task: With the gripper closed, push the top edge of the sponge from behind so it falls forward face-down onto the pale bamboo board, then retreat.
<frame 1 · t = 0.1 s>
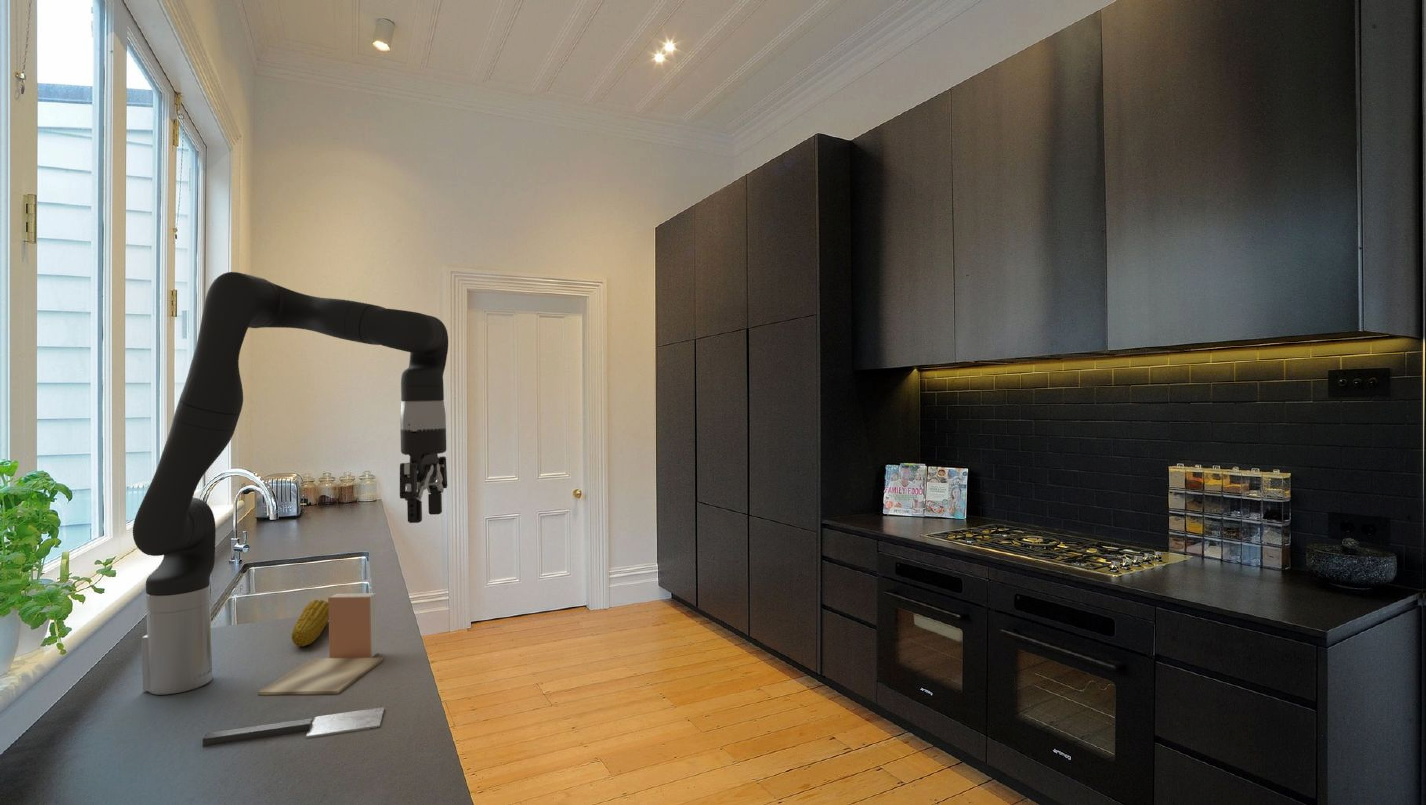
hand: (425, 518, 129), 29 cm above the countertop, fingers open, 8 cm apart
food: (312, 636, 157), on the countertop
sponge: (353, 655, 144), on the countertop
board: (324, 676, 133), on the countertop
knife with black handle: (296, 730, 112), on the countertop
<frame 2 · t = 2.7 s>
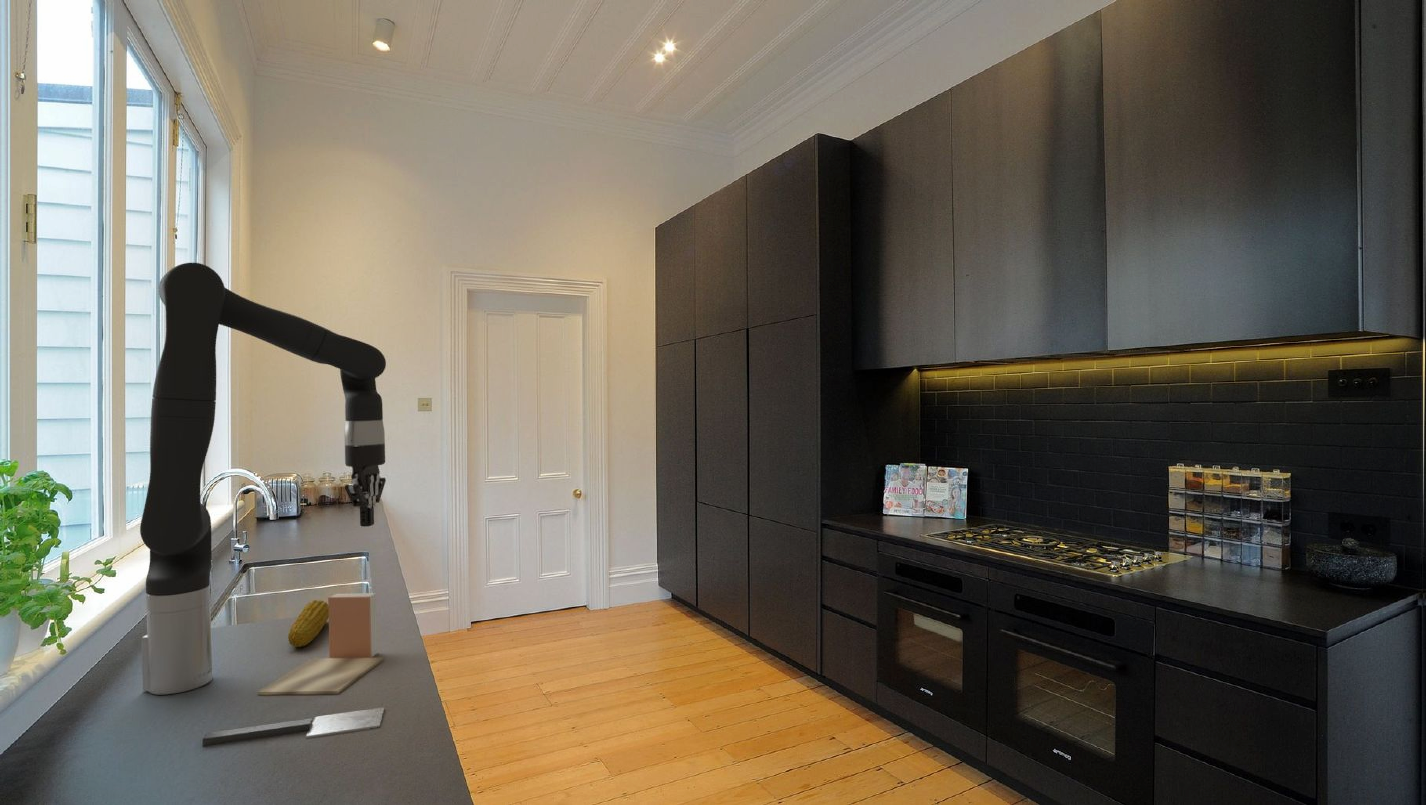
hand: (367, 525, 151), 24 cm above the countertop, fingers closed
nothing on the countertop moved.
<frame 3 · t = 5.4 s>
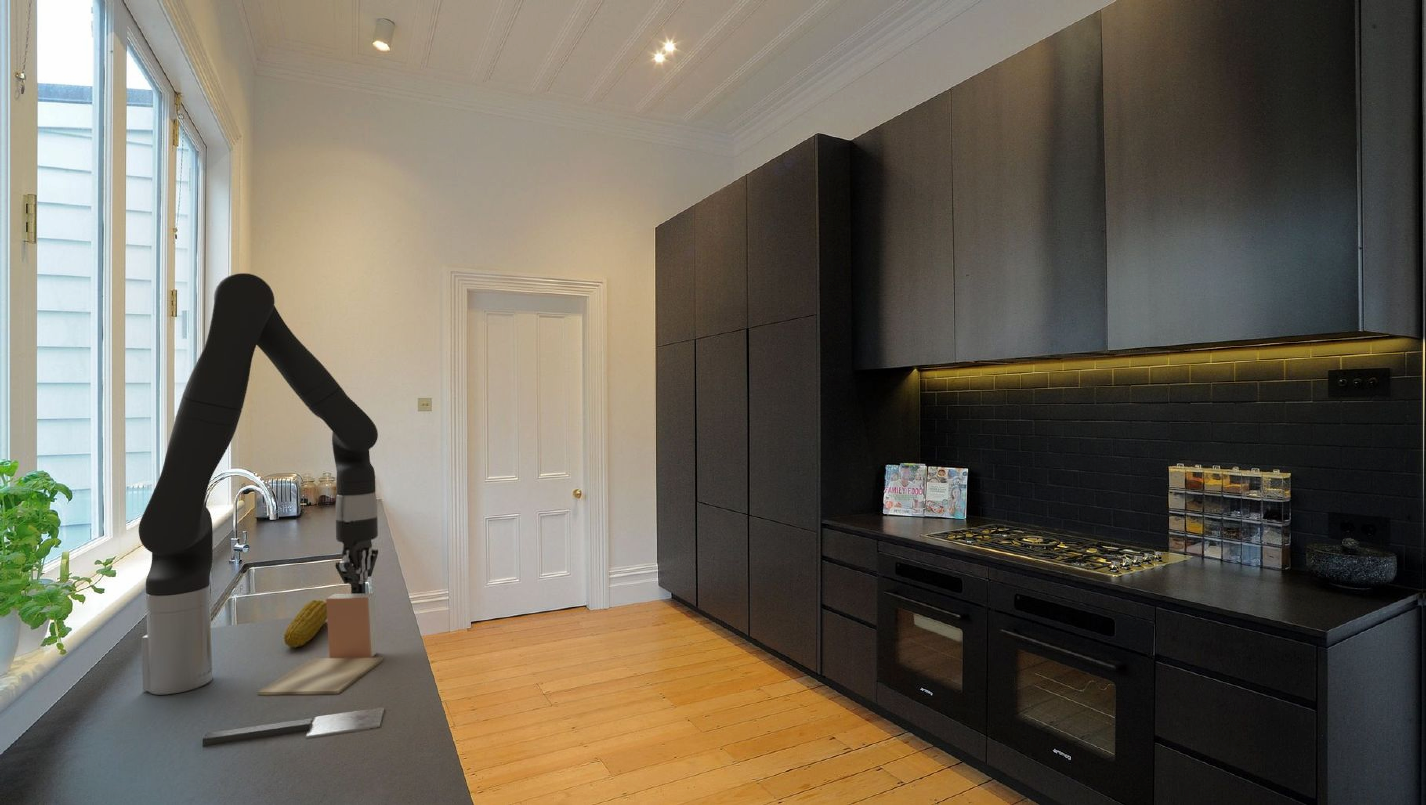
hand: (358, 601, 147), 10 cm above the countertop, fingers closed
nothing on the countertop moved.
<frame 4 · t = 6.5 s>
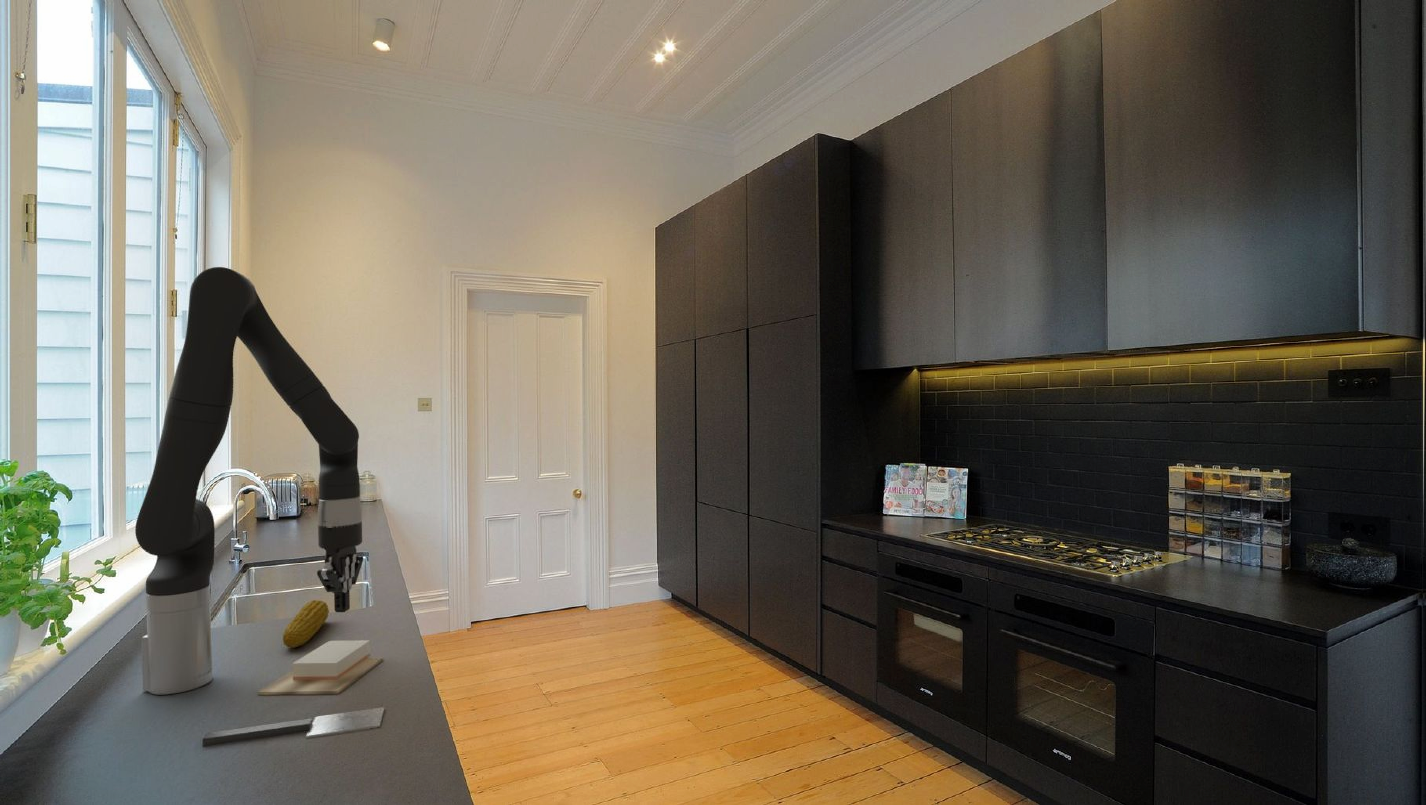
hand: (342, 610, 140), 10 cm above the countertop, fingers closed
sponge: (349, 648, 143), point 2 cm above the countertop, tilted 90°, touching board
everything else where it was.
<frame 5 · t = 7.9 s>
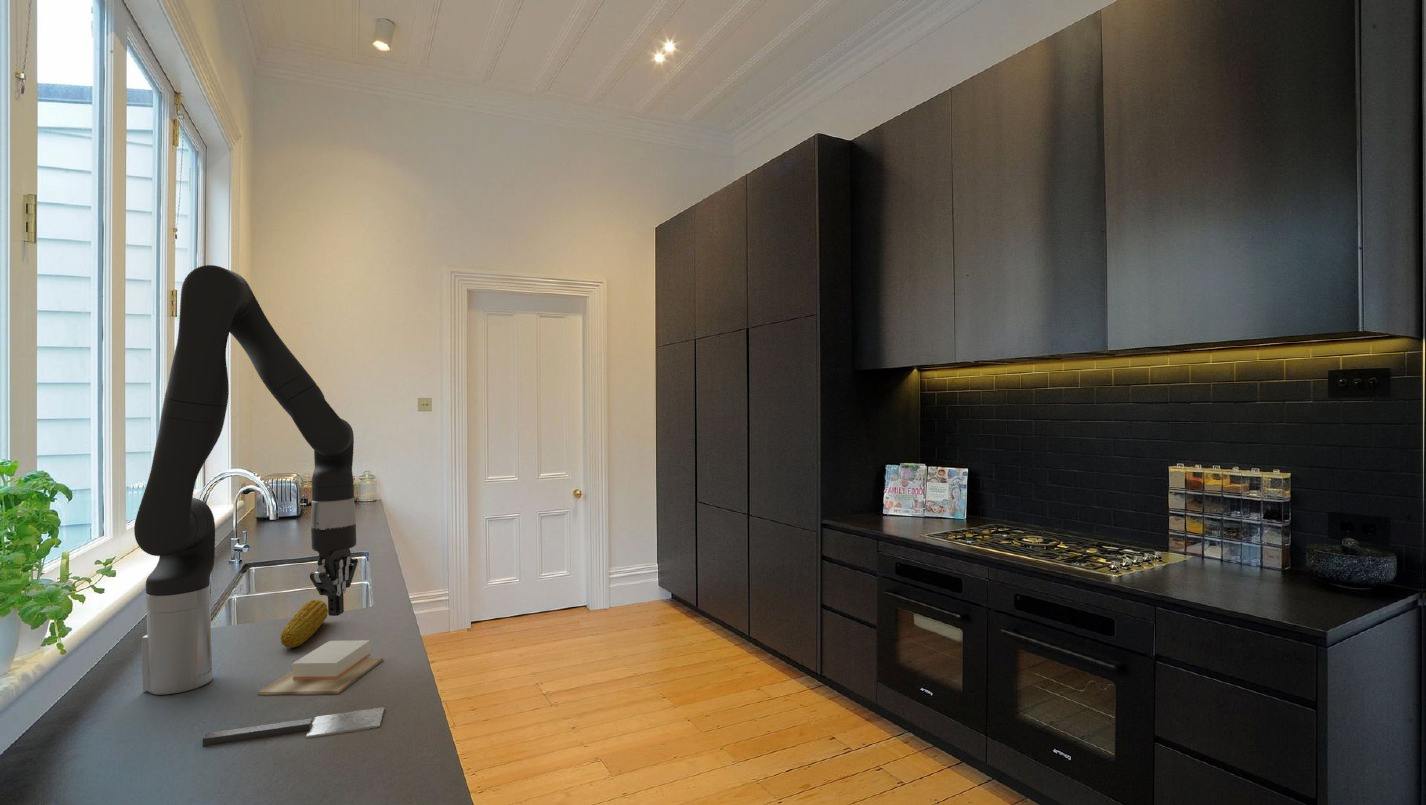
hand: (336, 614, 138), 10 cm above the countertop, fingers closed
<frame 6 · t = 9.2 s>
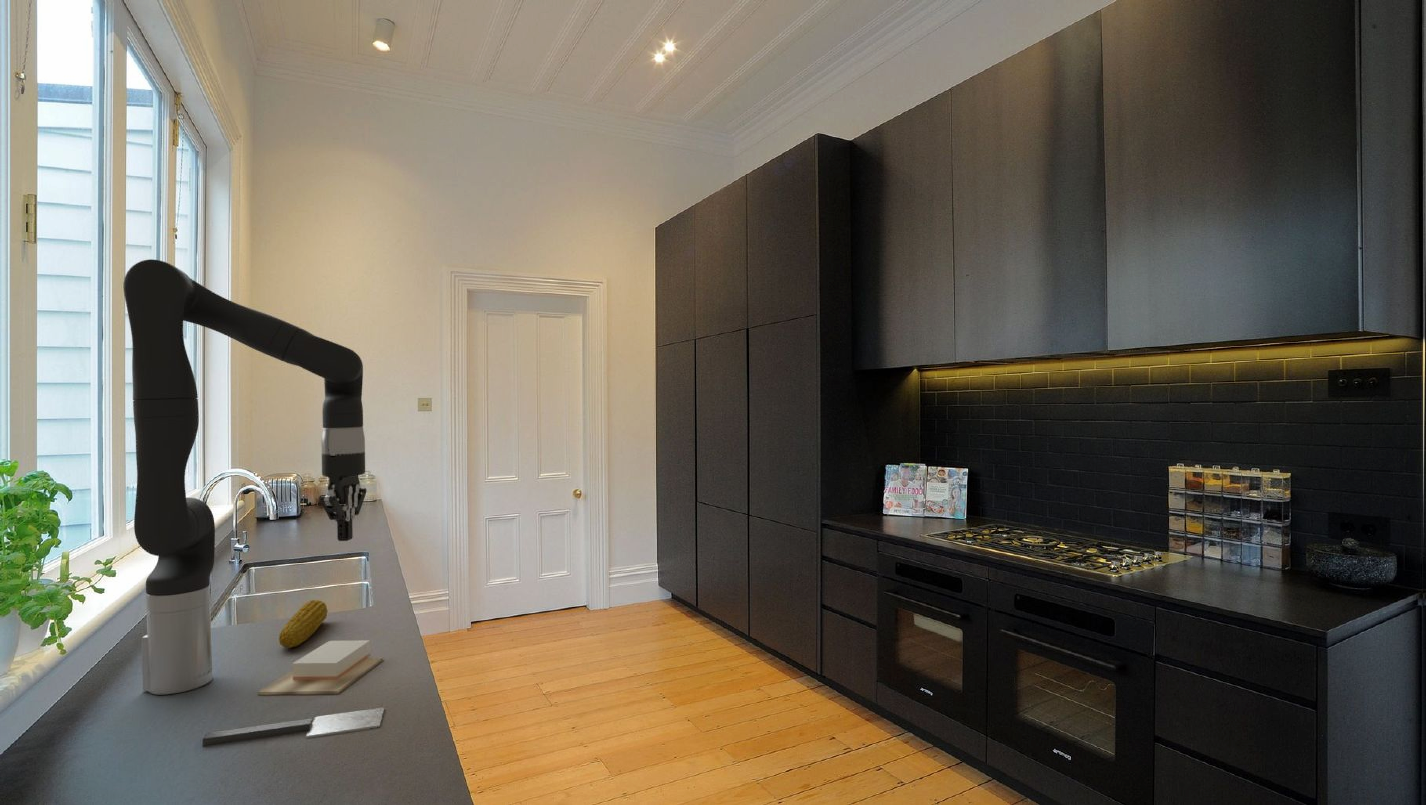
hand: (345, 540, 141), 23 cm above the countertop, fingers closed
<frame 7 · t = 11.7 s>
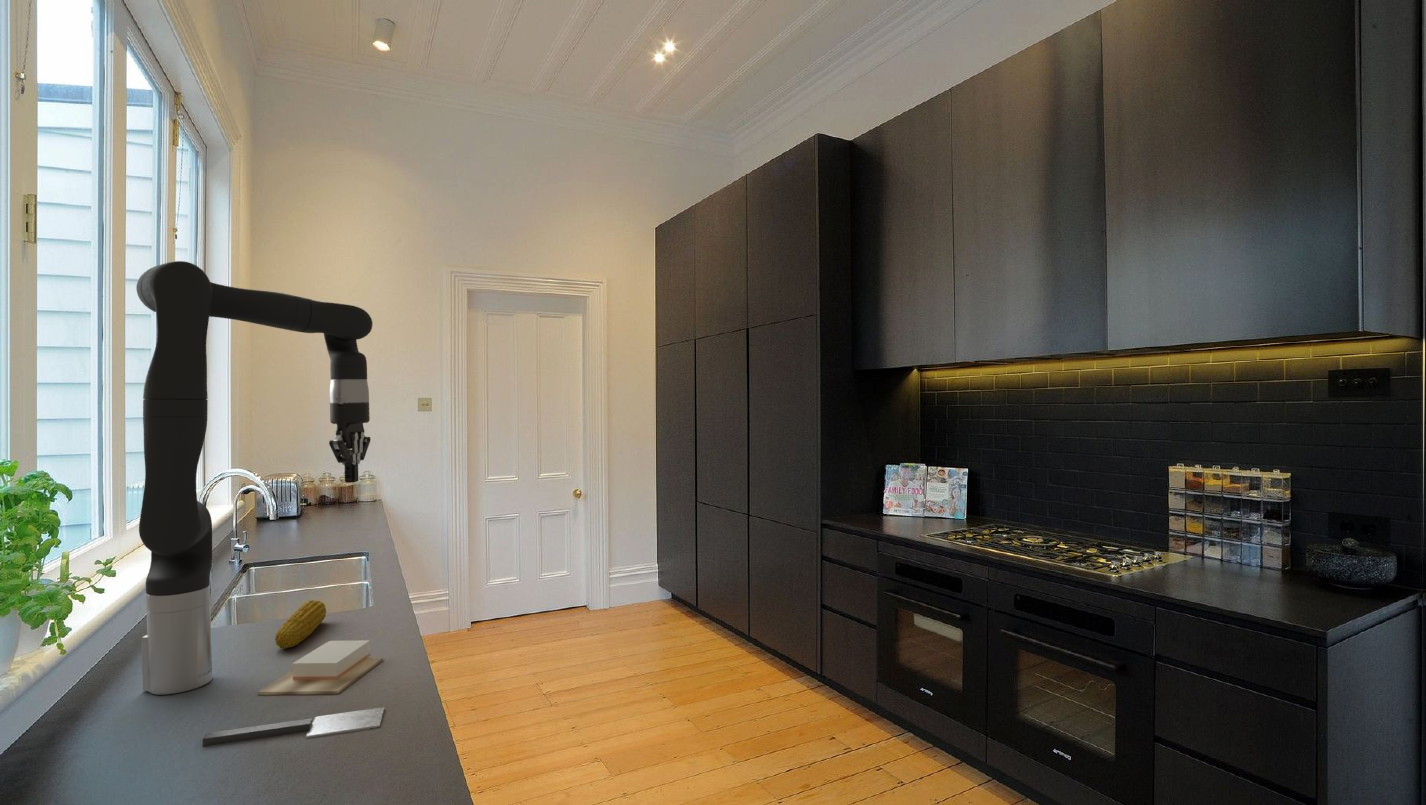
hand: (351, 482, 156), 33 cm above the countertop, fingers closed
at the end: sponge tilted 90°; sponge inside the target area (1.6 cm from its centre), point 2.0 cm above the countertop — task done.
